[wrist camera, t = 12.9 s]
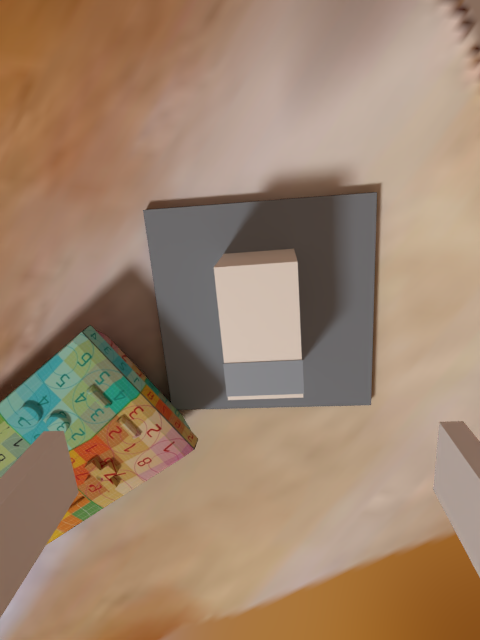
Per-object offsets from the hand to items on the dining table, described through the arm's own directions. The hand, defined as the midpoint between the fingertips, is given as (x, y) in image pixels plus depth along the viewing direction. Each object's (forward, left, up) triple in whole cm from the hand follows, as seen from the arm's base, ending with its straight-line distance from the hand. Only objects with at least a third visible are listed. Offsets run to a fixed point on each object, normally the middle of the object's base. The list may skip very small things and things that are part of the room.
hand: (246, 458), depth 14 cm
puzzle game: (-17, -10, -18) cm, 26 cm away
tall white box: (0, 0, -17) cm, 17 cm away
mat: (0, 0, -18) cm, 18 cm away
